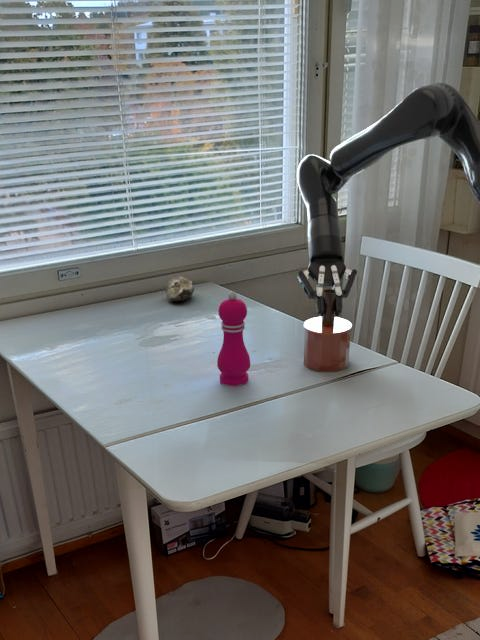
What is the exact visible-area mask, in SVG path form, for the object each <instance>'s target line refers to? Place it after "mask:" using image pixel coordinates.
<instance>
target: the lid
mask: <svg viewBox="0 0 480 640" xmlns="http://www.w3.org/2000/svg"><path fill="white" fill-rule="evenodd" d="M322 297H323V301H324V315H323V316H316V317H311V318H309V319H307V320H305V321H304V322H303V330H304V331H305V330H306V331H307V332H309V333H312V334H316V335H322V336H335V335H342V334H345V333H347V332H349V331H350V330H351V331H352V329H353V324H352V322H351V321H349V320H348V319H345V318H342V317H339V316H335V298H336V291H335V290H332V288H331V289H329V288H328V289H323V291H322Z"/></svg>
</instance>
